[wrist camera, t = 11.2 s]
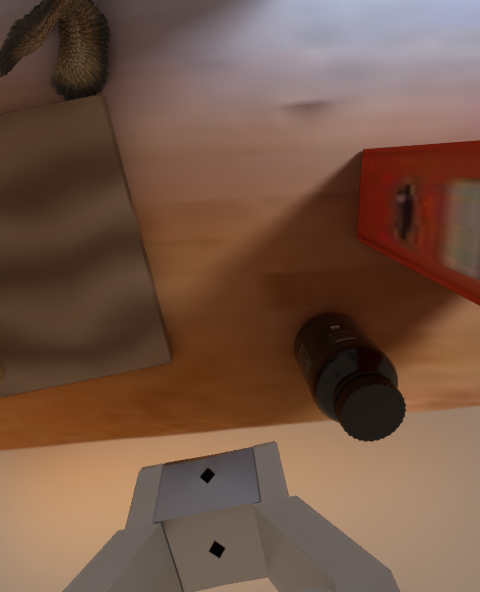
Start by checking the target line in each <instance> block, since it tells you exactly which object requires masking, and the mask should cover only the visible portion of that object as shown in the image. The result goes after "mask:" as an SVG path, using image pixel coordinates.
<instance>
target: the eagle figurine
mask: <svg viewBox="0 0 480 592" xmlns="http://www.w3.org/2000/svg"><path fill="white" fill-rule="evenodd" d="M56 22H57V23H58V26H59V33H60V46H59V52H58V61H57V64H56V67H55V69H54V72H53V75H52V77H51V82H50V83H51V86H52V87H55V89H56V92H57V93H58V94H61V95H63V98H64V100H65V101H69V100H74V99H79V98H84V97H88V95H89V96H94V94H95V92H96V93H98V92H100V90H101V89H102V87H103V84H104V83H105V82H106V76H107V75H108V72H107V67H108V59H107V56H108V43H109V41H110V40H109V38H110V33H109V28H108V25H107V19H105V16H104V14H102V13H100V12H99V9H98V8H97V7H94V3H93V2H92V1H91V0H43V1H42V2H41V3H40V5H37V6H34V9H33V10H32V11H31V12H30V14H26V15H25V16H24V18H23V19H20V20H17V21H15V22H14V25H13V26H12V27H11V28H10V31H11V32H10V33H9V34H8V35H7V39H6V40H5V41H4V44H3V46H2V48H1V51H0V77H2V76H3V75H6V74H7V73H8V72H10V71H11V70H12V68H13V67H14V66H15V65H16V63H17V62H18V61H19V60H21V59H22V58H23V57H24V56H26V55H28V54H30V53H32V52H34V51H35V50H37V49H38V48H39V47H40V46H41V44H42V43H43V42H44V41H45V39H46V38H47V37H48V35H49V34H50V32H51V31H52V29H53V27H54V25H55V24H56Z"/></svg>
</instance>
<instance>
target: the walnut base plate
mask: <svg viewBox="0 0 480 592" xmlns="http://www.w3.org/2000/svg"><path fill="white" fill-rule="evenodd" d="M172 358H173V354H172V351H171V347H170V343H169V339H168V335H167V332H166V328H165V324H164V320H163V317H162V313H161V309H160V305H159V301H158V298H157V294H156V290H155V286H154V283H153V279H152V275H151V271H150V267H149V264H148V260H147V256H146V252H145V249H144V245H143V241H142V237H141V233H140V230H139V226H138V222H137V218H136V214H135V211H134V207H133V203H132V199H131V196H130V192H129V188H128V184H127V180H126V177H125V173H124V169H123V165H122V162H121V158H120V154H119V150H118V146H117V143H116V139H115V135H114V131H113V128H112V124H111V120H110V116H109V112H108V109H107V105H106V101H105V98H104V97H103V96H101V95H95V96H89V97H84V98H79V99H74V100H69V101H64V102H59V103H54V104H49V105H43V106H38V107H33V108H28V109H23V110H18V111H13V112H8V113H2V114H0V366H1V368H2V371H3V373H4V376H5V378H4V379H3V380H2V381H1V382H0V397H5V396H9V395H14V394H19V393H24V392H29V391H34V390H39V389H44V388H49V387H54V386H59V385H64V384H69V383H74V382H79V381H84V380H89V379H94V378H99V377H104V376H109V375H114V374H119V373H124V372H129V371H134V370H138V369H143V368H148V367H153V366H158V365H163V364H168V363H172Z"/></svg>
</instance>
